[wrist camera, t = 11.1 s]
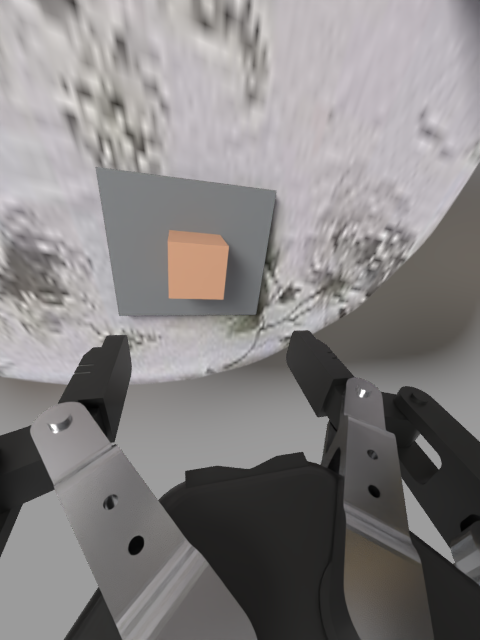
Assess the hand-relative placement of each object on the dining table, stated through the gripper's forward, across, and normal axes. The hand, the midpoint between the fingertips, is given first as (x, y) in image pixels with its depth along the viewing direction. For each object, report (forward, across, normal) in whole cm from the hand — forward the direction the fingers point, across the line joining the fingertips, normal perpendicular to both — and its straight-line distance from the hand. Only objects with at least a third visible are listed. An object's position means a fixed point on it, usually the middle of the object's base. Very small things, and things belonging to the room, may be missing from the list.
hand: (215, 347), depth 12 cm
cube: (+16, 0, 0) cm, 16 cm away
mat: (+17, 0, 0) cm, 17 cm away
